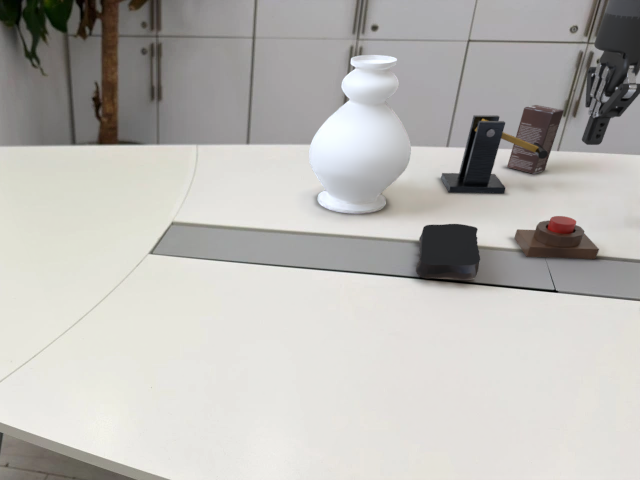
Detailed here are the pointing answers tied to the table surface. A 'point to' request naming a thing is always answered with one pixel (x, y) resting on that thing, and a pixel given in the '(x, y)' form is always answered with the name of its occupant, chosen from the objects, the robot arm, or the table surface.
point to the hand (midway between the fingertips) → (590, 143)
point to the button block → (555, 243)
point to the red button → (561, 224)
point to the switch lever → (524, 144)
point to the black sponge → (448, 252)
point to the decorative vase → (361, 140)
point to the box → (535, 137)
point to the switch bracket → (478, 159)
